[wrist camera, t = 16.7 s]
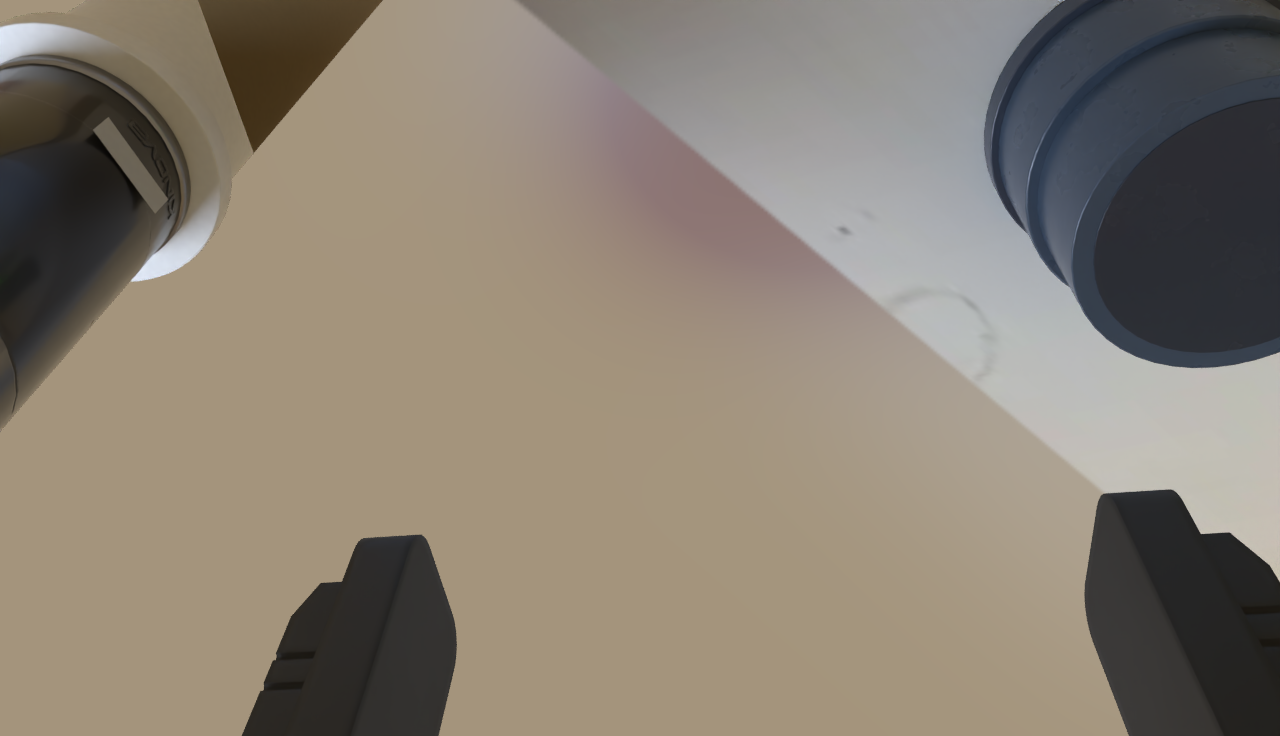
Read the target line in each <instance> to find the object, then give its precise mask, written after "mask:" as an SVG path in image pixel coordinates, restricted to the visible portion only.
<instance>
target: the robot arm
mask: <svg viewBox="0 0 1280 736" xmlns="http://www.w3.org/2000/svg"><path fill="white" fill-rule="evenodd" d="M190 193H191V186H190V176H189V170H188V166H187V162H186V159H185V156H184V153H183V151H182V149H181V146H180V144H179V142H178V140H177V138H176V137H175V135H174V133H173V131H172V130H171V128H170V127H169V125H168V124H167V122H166V121H165V120H164V118H163V117H162V116H161V115H160V113H159V112H158V111H157V110H156V109H155V108H154V107H153V106H152V105H151V103H150V102H148V101H147V100H146V99H145V98H144V97H143V96H142V95H141V94H140V93H139V92H137V91H136V90H135V89H134V88H132V87H131V86H130V85H128V84H127V83H125V82H124V81H122V80H121V79H119V78H118V77H116V76H114V75H113V74H111V73H109V72H107V71H105V70H103V69H101V68H99V67H97V66H94V65H92V64H89V63H87V62H83V61H80V60H77V59H73V58H69V57H64V56H57V55H41V54H40V55H28V56H22V57H18V58H15V59H11V60H9V61H6V62H4V63H2V64H0V432H1V430H2V428H4V426H5V425H6V424H7V423H8V422H9V421H10V419H11V418H12V417H13V416H14V415H15V414H16V413H17V411H18V410H19V409H20V408H21V407H22V405H23V404H24V403H25V402H26V401H27V400H28V399H29V397H30V396H31V395H32V394H33V393H34V392H35V391H36V389H37V388H38V387H39V386H40V385H41V384H42V383H43V381H44V380H45V379H46V378H47V377H48V376H49V374H50V373H51V372H52V371H53V370H54V369H55V368H56V366H57V365H58V364H59V363H60V362H61V361H62V360H63V358H64V357H65V356H66V355H67V354H68V353H69V351H70V350H71V349H72V348H73V347H74V345H75V344H76V343H77V342H78V341H79V340H80V339H81V338H82V336H83V335H84V334H85V333H86V332H87V331H88V330H89V328H90V327H91V326H92V325H93V324H94V323H95V321H96V320H97V319H98V318H99V317H100V316H101V315H102V313H103V312H104V311H105V310H106V309H107V308H108V306H109V305H110V304H111V303H112V302H113V301H114V300H115V298H116V297H117V296H118V295H119V294H120V293H121V292H122V290H123V289H124V288H125V287H126V286H127V284H128V283H129V282H130V281H131V280H132V279H133V278H134V277H135V276H136V274H137V273H138V272H139V271H140V270H141V269H142V267H143V266H144V265H145V264H146V263H147V261H148V260H149V259H150V258H151V257H152V256H153V254H155V253H156V252H158V251H159V250H160V249H161V248H163V247H164V246H165V245H166V244H167V242H168V241H169V240H170V239H171V238H172V237H173V236H174V234H175V233H176V232H177V231H178V229H179V228H180V226H181V225H182V223H183V221H184V219H185V217H186V214H187V211H188V207H189V202H190ZM1085 608H1086V616H1087V621H1088V626H1089V630H1090V634H1091V637H1092V640H1093V643H1094V645H1095V648H1096V651H1097V653H1098V656H1099V659H1100V661H1101V664H1102V666H1103V669H1104V672H1105V674H1106V677H1107V680H1108V682H1109V685H1110V687H1111V690H1112V692H1113V695H1114V698H1115V700H1116V703H1117V706H1118V708H1119V711H1120V714H1121V716H1122V719H1123V721H1124V724H1125V727H1126V729H1127V732H1128V734H1129V736H1280V582H1279V580H1278V579H1277V577H1276V575H1275V574H1274V572H1273V570H1272V569H1271V567H1270V565H1268V564H1267V563H1266V562H1265V561H1264V560H1262V559H1261V558H1260V557H1259V556H1257V555H1256V554H1255V553H1254V552H1253V551H1251V550H1250V549H1249V548H1248V547H1246V546H1245V545H1244V544H1243V543H1242V542H1240V541H1239V540H1238V539H1237V538H1235V537H1234V536H1233V535H1232V534H1231V533H1212V534H1200V532H1199V530H1198V528H1197V526H1196V524H1195V523H1194V521H1193V519H1192V517H1191V515H1190V513H1189V512H1188V510H1187V508H1186V506H1185V504H1184V502H1183V501H1182V499H1181V498H1180V496H1179V495H1178V494H1177V493H1176V492H1175V491H1174V490H1154V491H1139V492H1123V493H1107V494H1103V495H1102V496H1101V497H1100V499H1099V501H1098V505H1097V510H1096V517H1095V523H1094V530H1093V536H1092V543H1091V549H1090V556H1089V562H1088V569H1087V575H1086V581H1085ZM456 643H457V642H456V629H455V622H454V618H453V614H452V611H451V609H450V606H449V603H448V599H447V597H446V594H445V591H444V588H443V585H442V582H441V579H440V576H439V573H438V570H437V567H436V564H435V561H434V558H433V556H432V553H431V549H430V547H429V544H428V542H427V540H426V538H425V537H424V536H422V535H407V536H391V537H375V538H363V539H361V540H360V541H359V542H358V543H357V545H356V547H355V549H354V551H353V554H352V557H351V559H350V562H349V565H348V568H347V570H346V573H345V575H344V578H343V581H342V582H332V583H321V584H320V585H319V586H318V587H317V588H316V589H315V590H314V591H313V593H312V594H311V595H310V596H309V597H308V598H307V599H306V600H305V602H304V603H303V604H302V605H301V606H300V607H299V608H298V609H297V610H296V612H295V613H294V614H293V615H292V616H291V618H290V621H289V623H288V626H287V628H286V630H285V633H284V636H283V638H282V640H281V642H280V645H279V648H278V650H277V652H276V655H277V658H276V660H274V661H273V662H272V664H271V667H270V669H269V671H268V674H267V676H266V679H265V681H264V690H263V691H260V693H259V696H258V698H257V700H256V703H255V705H254V708H253V710H252V713H251V715H250V717H249V720H248V722H247V725H246V727H245V729H244V732H243V734H242V736H438V735H439V731H440V727H441V723H442V718H443V714H444V710H445V705H446V701H447V697H448V693H449V689H450V685H451V680H452V676H453V672H454V667H455V660H456V647H457V644H456Z"/></svg>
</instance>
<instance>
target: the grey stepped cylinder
mask: <svg viewBox="0 0 1280 736" xmlns="http://www.w3.org/2000/svg"><path fill="white" fill-rule="evenodd" d="M984 149H985V156H986V162H987V168H988V171H989V174H990V177H991V180H992V183H993V185H994V187H995V189H996V191H997V193H998V195H999V197H1000V199H1001V200H1002V202H1003V204H1004V206H1005V208H1006V210H1007V211H1008V213H1009V214H1010V215H1011V217H1012V218H1013V219H1014V221H1015V222H1016V223H1017V224H1018V225H1019V226H1020V227H1021V228H1022V229H1023V230H1024V231H1025V232H1026V233H1027V234H1028V235H1029V237H1030V239H1031V241H1032V242H1033V244H1034V246H1035V248H1036V250H1037V252H1038V254H1039V256H1040V257H1041V259H1042V260H1043V261H1044V263H1045V264H1046V265H1047V267H1048V268H1049V270H1050V271H1051V272H1052V273H1053V274H1054V275H1055V276H1056V277H1058V278H1059V279H1060V280H1061V281H1062V282H1063V283H1064V284H1066V285H1067V286H1069V287H1070V288H1071V290H1072V292H1073V294H1074V296H1075V297H1076V299H1077V301H1078V303H1079V305H1080V307H1081V308H1082V310H1083V312H1084V314H1085V315H1086V317H1087V318H1088V319H1089V321H1090V322H1091V323H1092V325H1093V326H1094V327H1095V329H1096V330H1098V331H1099V332H1100V333H1101V334H1102V335H1103V336H1104V337H1105V338H1106V339H1107V340H1108V341H1110V342H1111V343H1113V344H1114V345H1116V346H1117V347H1119V348H1120V349H1122V350H1124V351H1126V352H1128V353H1130V354H1132V355H1134V356H1136V357H1139V358H1142V359H1145V360H1148V361H1151V362H1154V363H1159V364H1164V365H1169V366H1175V367H1187V368H1210V367H1220V366H1228V365H1235V364H1240V363H1244V362H1249V361H1253V360H1257V359H1260V358H1263V357H1266V356H1270V355H1273V354H1276V353H1278V352H1280V0H1065V1H1064V2H1062V3H1061V4H1060V5H1058V6H1057V7H1055V8H1054V9H1053V10H1052V11H1051V12H1050V13H1049V14H1048V15H1046V16H1045V17H1044V18H1043V19H1042V20H1041V21H1040V22H1039V23H1038V24H1037V25H1036V26H1035V27H1034V28H1033V29H1032V30H1031V31H1030V32H1029V34H1028V35H1027V36H1026V37H1025V38H1024V39H1023V40H1022V42H1021V43H1020V44H1019V46H1018V47H1017V49H1016V50H1015V51H1014V53H1013V54H1012V56H1011V57H1010V58H1009V60H1008V62H1007V64H1006V66H1005V67H1004V69H1003V71H1002V73H1001V75H1000V76H999V79H998V81H997V84H996V86H995V89H994V91H993V93H992V96H991V100H990V104H989V107H988V111H987V115H986V123H985V131H984Z"/></svg>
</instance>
